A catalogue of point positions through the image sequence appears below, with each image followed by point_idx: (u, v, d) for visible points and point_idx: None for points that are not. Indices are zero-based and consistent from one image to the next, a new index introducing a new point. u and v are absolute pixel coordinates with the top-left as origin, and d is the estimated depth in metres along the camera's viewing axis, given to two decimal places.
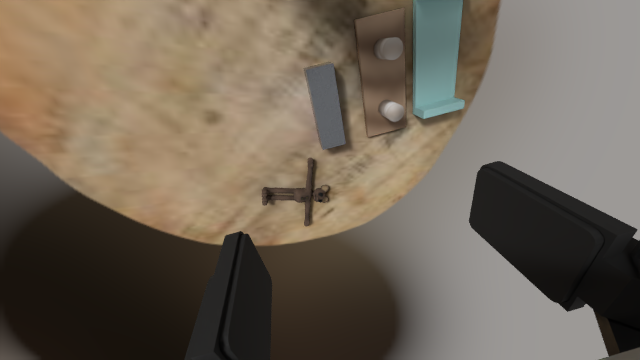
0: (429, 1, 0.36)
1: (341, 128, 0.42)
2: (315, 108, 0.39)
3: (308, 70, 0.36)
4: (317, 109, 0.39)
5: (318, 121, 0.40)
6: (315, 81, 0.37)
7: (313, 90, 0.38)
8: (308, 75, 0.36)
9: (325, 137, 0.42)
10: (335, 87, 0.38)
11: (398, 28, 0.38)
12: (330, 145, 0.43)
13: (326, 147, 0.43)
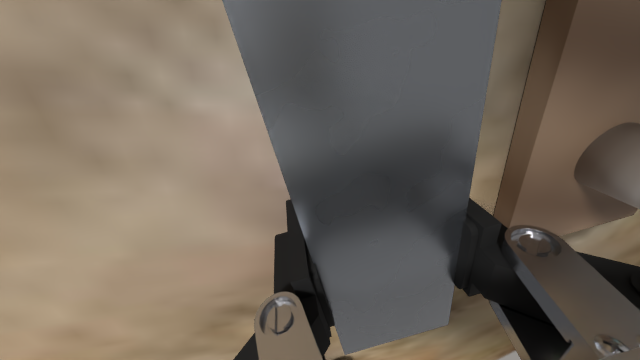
0: None
1: (446, 281, 0.08)
2: (305, 208, 0.05)
3: None
4: (317, 215, 0.06)
5: (326, 269, 0.07)
6: None
7: (285, 77, 0.04)
8: None
9: (358, 321, 0.08)
10: (481, 45, 0.04)
11: None
12: (380, 338, 0.09)
13: (361, 346, 0.09)
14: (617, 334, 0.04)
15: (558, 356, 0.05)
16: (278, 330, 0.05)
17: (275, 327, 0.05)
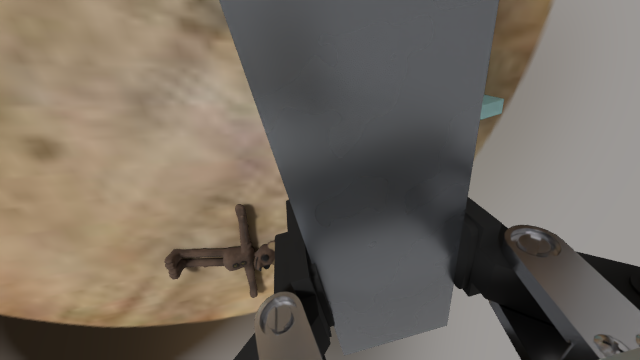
0: None
1: (445, 282, 0.08)
2: (304, 210, 0.05)
3: None
4: (316, 217, 0.06)
5: (325, 271, 0.07)
6: None
7: (283, 81, 0.04)
8: None
9: (357, 322, 0.08)
10: (478, 50, 0.04)
11: None
12: (379, 339, 0.09)
13: (361, 347, 0.09)
14: (617, 334, 0.04)
15: (558, 356, 0.05)
16: (278, 330, 0.05)
17: (275, 327, 0.05)
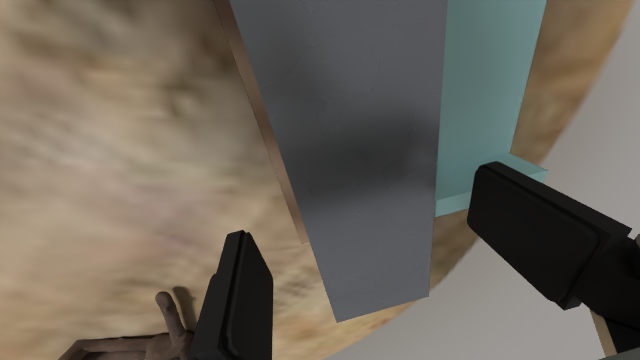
0: None
1: (423, 253, 0.09)
2: (299, 182, 0.07)
3: None
4: (309, 189, 0.07)
5: (317, 238, 0.08)
6: None
7: (281, 75, 0.05)
8: None
9: (347, 289, 0.09)
10: (434, 50, 0.05)
11: None
12: (368, 307, 0.10)
13: (351, 315, 0.10)
14: None
15: None
16: None
17: None
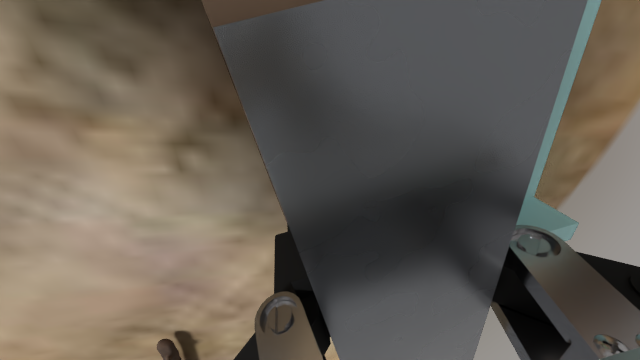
0: None
1: (465, 358, 0.08)
2: (336, 322, 0.06)
3: (256, 37, 0.02)
4: (347, 326, 0.06)
5: None
6: (348, 162, 0.03)
7: (327, 236, 0.04)
8: (263, 105, 0.03)
9: None
10: (513, 196, 0.04)
11: None
12: None
13: None
14: (616, 334, 0.04)
15: (558, 356, 0.05)
16: (278, 330, 0.05)
17: (275, 327, 0.05)
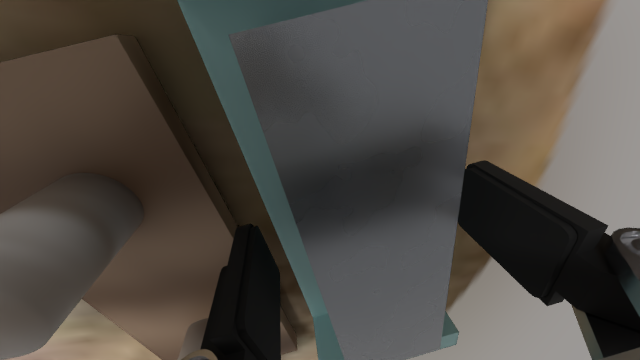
0: None
1: (436, 316, 0.09)
2: (321, 271, 0.07)
3: (256, 41, 0.04)
4: (331, 275, 0.07)
5: (336, 312, 0.08)
6: (323, 131, 0.05)
7: (310, 192, 0.05)
8: (261, 88, 0.04)
9: (362, 349, 0.10)
10: (455, 163, 0.06)
11: (136, 133, 0.08)
12: None
13: None
14: None
15: None
16: None
17: None
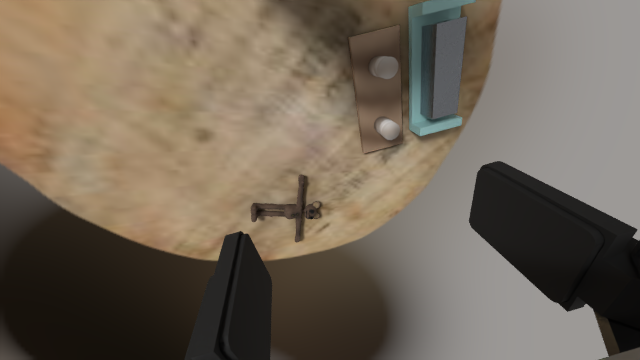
0: (425, 18, 0.35)
1: (457, 94, 0.38)
2: (436, 70, 0.36)
3: (439, 24, 0.33)
4: (437, 72, 0.36)
5: (435, 85, 0.37)
6: (443, 37, 0.33)
7: (439, 49, 0.34)
8: (438, 30, 0.33)
9: (438, 105, 0.38)
10: (462, 45, 0.34)
11: (393, 46, 0.37)
12: (441, 114, 0.39)
13: (436, 116, 0.39)
14: None
15: None
16: None
17: None
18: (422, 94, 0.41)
